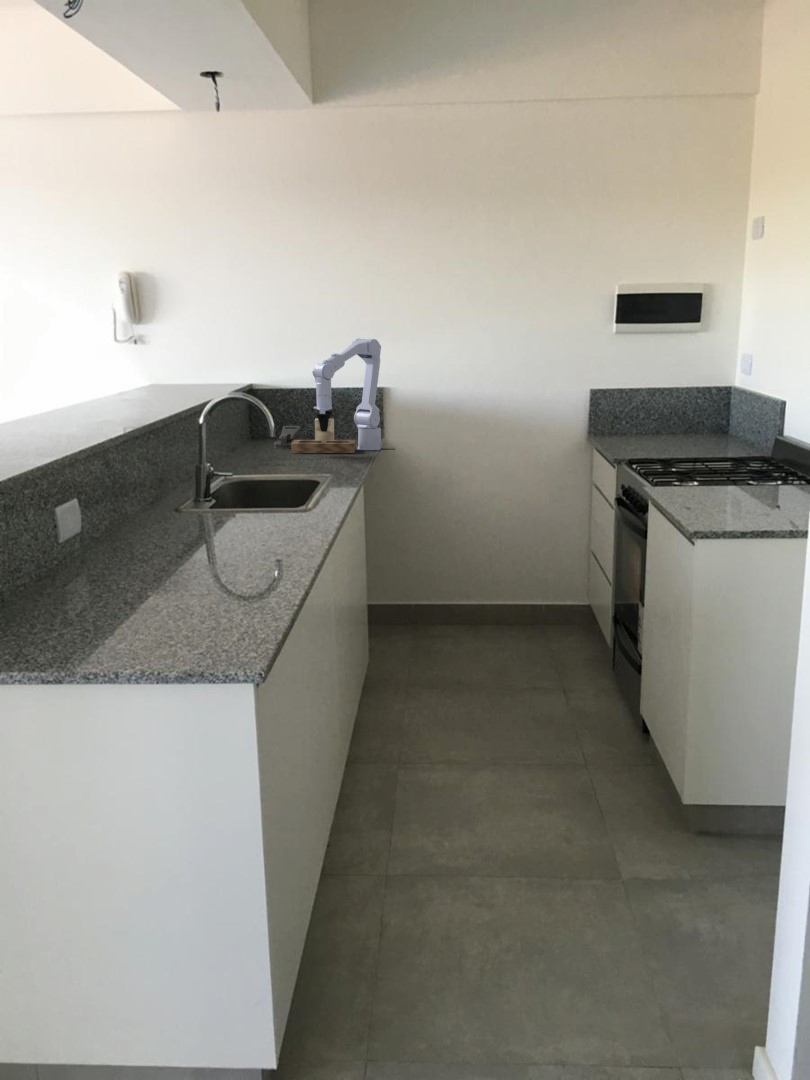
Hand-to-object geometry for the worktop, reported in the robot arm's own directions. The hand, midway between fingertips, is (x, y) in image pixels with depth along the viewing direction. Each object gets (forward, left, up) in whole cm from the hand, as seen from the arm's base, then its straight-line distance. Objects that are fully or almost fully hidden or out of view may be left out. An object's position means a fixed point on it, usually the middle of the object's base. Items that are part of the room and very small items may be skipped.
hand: (324, 430), depth 353 cm
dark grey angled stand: (+19, -31, -10) cm, 38 cm away
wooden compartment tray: (+2, -11, -10) cm, 15 cm away
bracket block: (0, 0, -3) cm, 4 cm away
